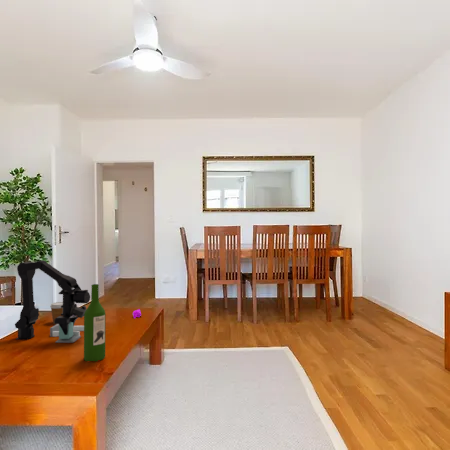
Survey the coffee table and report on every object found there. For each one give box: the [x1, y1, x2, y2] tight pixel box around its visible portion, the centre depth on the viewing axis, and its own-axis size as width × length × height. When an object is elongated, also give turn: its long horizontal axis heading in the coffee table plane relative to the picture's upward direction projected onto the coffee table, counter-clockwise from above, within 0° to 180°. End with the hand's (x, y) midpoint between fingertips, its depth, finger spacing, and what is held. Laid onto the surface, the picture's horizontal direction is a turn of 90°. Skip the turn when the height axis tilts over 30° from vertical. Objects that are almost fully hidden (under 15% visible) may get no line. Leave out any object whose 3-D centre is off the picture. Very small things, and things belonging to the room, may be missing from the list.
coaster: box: [55, 335, 82, 344], centre depth 177 cm, size 9×9×1 cm
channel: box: [49, 324, 84, 338], centre depth 188 cm, size 15×11×4 cm
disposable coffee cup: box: [50, 301, 63, 326], centre depth 208 cm, size 10×10×12 cm
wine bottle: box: [83, 283, 106, 362], centre depth 152 cm, size 9×9×32 cm
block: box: [58, 322, 73, 340], centre depth 177 cm, size 5×5×7 cm
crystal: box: [132, 308, 142, 319], centre depth 222 cm, size 5×5×5 cm
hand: (68, 333), depth 177 cm, fingers open, 5 cm apart
